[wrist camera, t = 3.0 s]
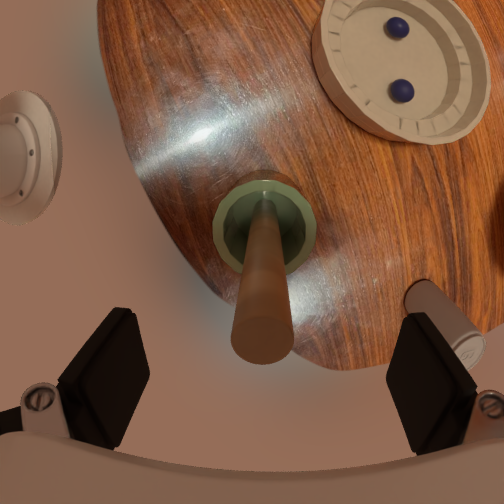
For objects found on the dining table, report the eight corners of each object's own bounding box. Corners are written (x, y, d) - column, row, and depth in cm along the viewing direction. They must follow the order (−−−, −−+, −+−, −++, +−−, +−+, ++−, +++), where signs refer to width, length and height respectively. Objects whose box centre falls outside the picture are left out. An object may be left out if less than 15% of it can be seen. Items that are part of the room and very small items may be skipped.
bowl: (311, 133, 27) (323, 132, 21) (306, -18, 21) (314, -46, 15) (459, 152, 26) (492, 158, 20) (450, 15, 20) (477, 1, 14)
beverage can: (406, 279, 32) (455, 340, 20) (439, 276, 31) (493, 330, 20) (400, 315, 33) (440, 380, 22) (432, 310, 33) (477, 369, 22)
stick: (253, 221, 29) (231, 364, 11) (253, 198, 28) (229, 315, 10) (276, 221, 29) (292, 365, 10) (276, 198, 28) (296, 316, 10)
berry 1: (383, 38, 22) (392, 31, 20) (381, 19, 21) (389, 11, 19) (404, 43, 22) (414, 37, 20) (402, 23, 21) (412, 16, 19)
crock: (227, 244, 31) (215, 278, 24) (225, 169, 28) (210, 180, 21) (301, 245, 31) (312, 279, 23) (304, 170, 28) (319, 181, 21)
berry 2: (387, 101, 24) (396, 99, 22) (386, 79, 23) (395, 74, 21) (408, 105, 24) (419, 103, 22) (407, 83, 23) (418, 79, 21)
